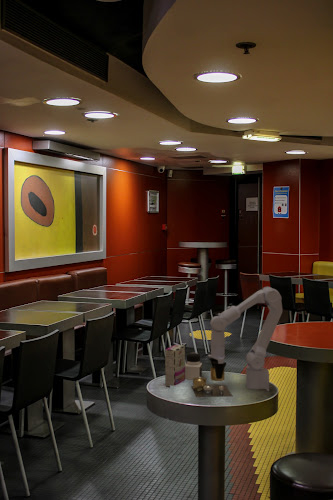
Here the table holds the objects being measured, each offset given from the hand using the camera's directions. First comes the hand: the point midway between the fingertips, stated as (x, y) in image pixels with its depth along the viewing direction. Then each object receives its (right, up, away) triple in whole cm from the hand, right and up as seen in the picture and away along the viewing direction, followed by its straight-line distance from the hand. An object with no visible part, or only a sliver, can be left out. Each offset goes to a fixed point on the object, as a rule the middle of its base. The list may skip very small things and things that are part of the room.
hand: (217, 376), depth 250 cm
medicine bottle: (-10, -5, +16) cm, 19 cm away
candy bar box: (-18, -5, +8) cm, 20 cm away
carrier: (-3, -6, -6) cm, 9 cm away
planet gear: (0, -1, 0) cm, 1 cm away
